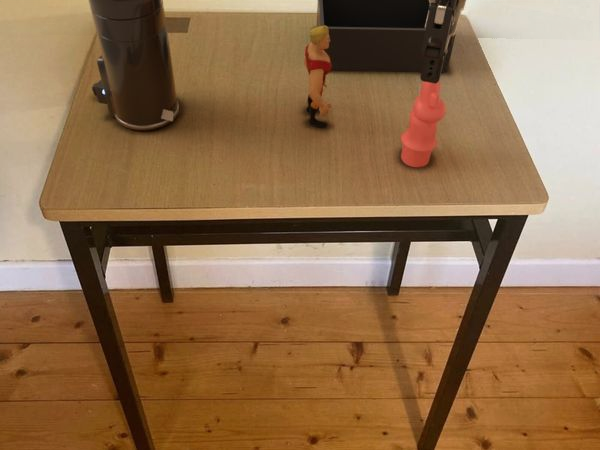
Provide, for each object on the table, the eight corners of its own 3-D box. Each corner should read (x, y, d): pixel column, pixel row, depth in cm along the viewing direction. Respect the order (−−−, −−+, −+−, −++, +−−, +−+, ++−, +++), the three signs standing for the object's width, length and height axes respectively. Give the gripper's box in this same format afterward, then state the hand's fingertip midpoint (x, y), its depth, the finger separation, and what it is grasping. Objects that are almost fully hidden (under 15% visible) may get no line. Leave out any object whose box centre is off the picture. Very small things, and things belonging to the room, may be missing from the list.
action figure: (332, 136, 90) (339, 43, 79) (307, 137, 90) (311, 44, 79) (324, 98, 96) (329, 7, 85) (301, 99, 96) (304, 8, 85)
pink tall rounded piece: (433, 173, 85) (455, 79, 74) (395, 167, 86) (412, 73, 75) (435, 149, 88) (457, 56, 77) (399, 144, 89) (416, 51, 78)
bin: (318, 70, 102) (320, 28, 96) (316, 29, 111) (318, -12, 105) (447, 72, 102) (456, 30, 97) (434, 31, 111) (442, -9, 106)
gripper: (440, -104, 70) (418, 29, 81) (413, -55, 60) (392, 87, 72) (508, -95, 68) (475, 39, 80) (491, -43, 59) (457, 100, 70)
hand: (436, 62), depth 76 cm, fingers open, 8 cm apart
